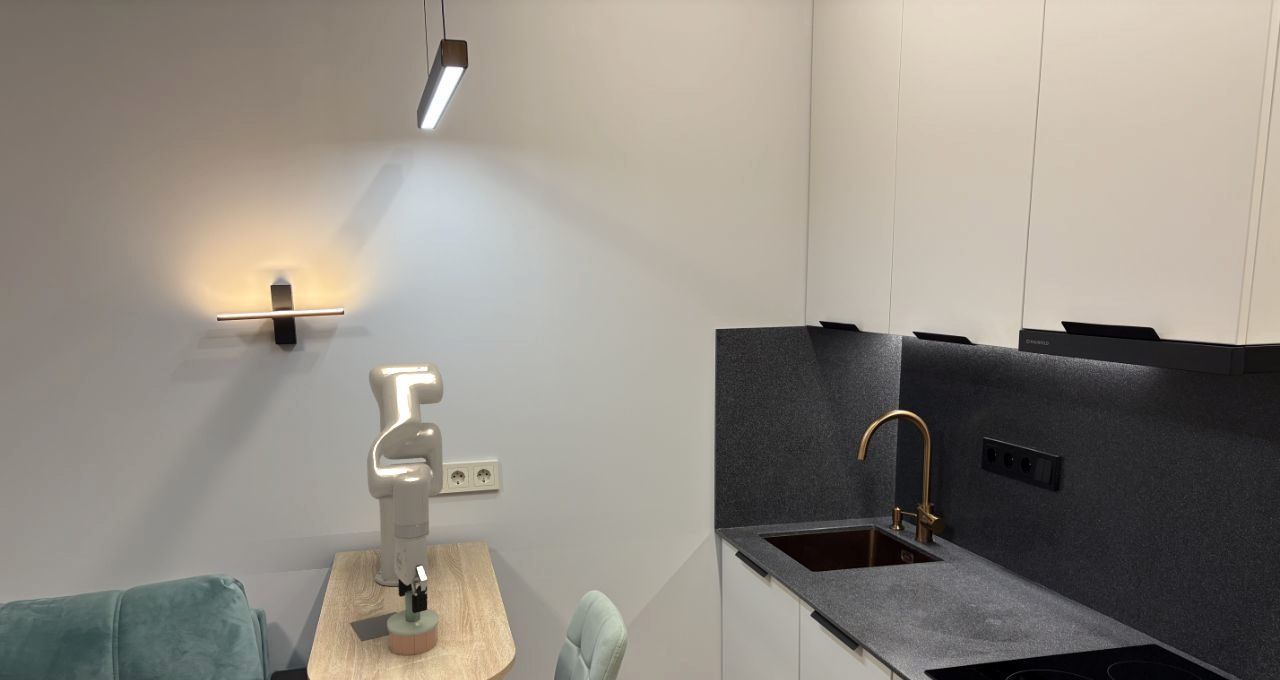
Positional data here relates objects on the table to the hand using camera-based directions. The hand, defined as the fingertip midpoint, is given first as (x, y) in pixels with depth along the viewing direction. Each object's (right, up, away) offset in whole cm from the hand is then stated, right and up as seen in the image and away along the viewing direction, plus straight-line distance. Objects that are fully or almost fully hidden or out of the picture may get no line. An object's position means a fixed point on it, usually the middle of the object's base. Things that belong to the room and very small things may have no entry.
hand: (412, 602), depth 172 cm
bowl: (0, -10, +1) cm, 10 cm away
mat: (-10, -9, +9) cm, 17 cm away
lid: (0, -5, 0) cm, 5 cm away
